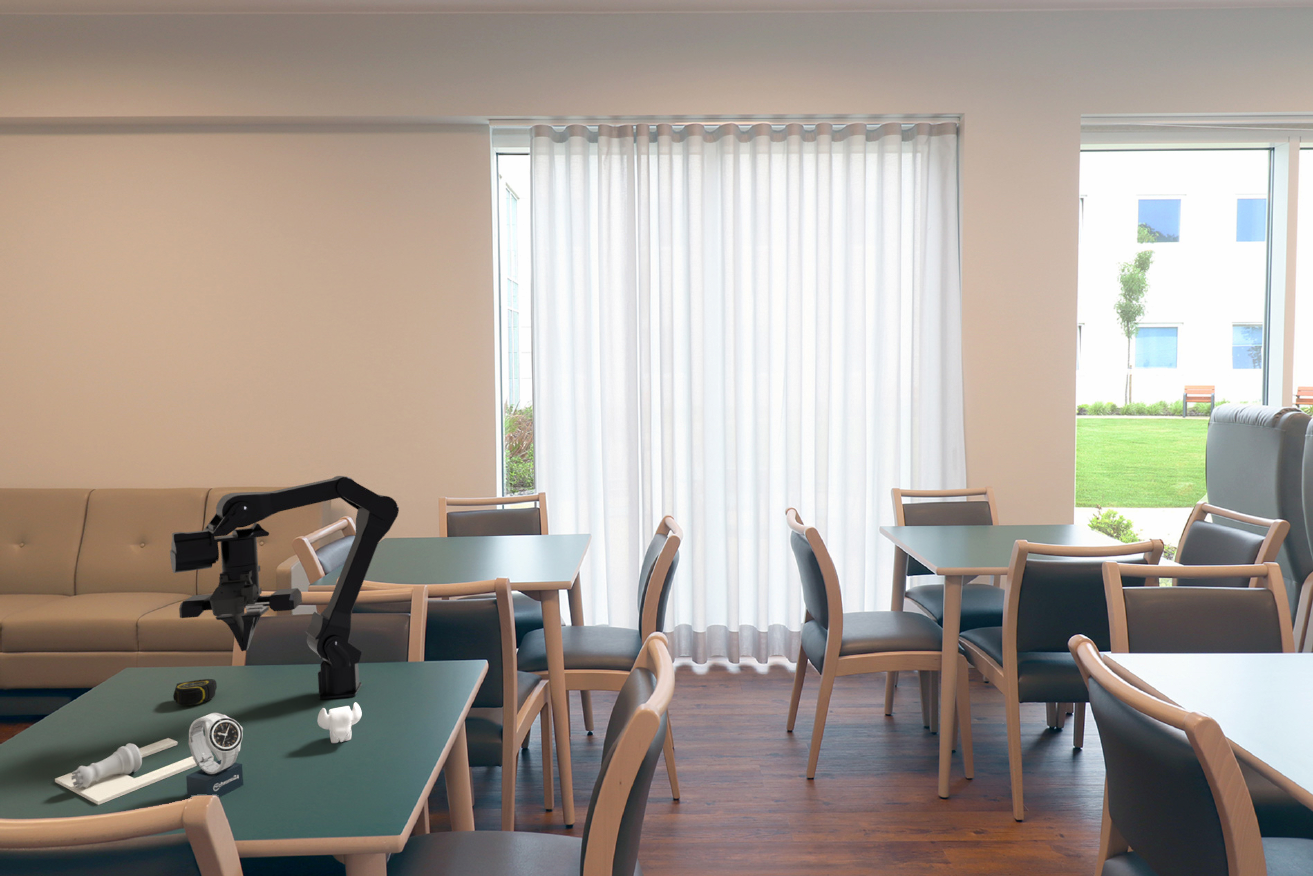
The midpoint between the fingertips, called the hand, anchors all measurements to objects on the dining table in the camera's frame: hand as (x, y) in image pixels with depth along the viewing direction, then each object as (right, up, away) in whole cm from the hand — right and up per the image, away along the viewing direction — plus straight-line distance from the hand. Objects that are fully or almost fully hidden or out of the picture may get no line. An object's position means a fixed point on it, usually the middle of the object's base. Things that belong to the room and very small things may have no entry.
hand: (244, 650), depth 139 cm
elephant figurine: (+22, -12, -11) cm, 27 cm away
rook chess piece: (-6, -11, -20) cm, 23 cm away
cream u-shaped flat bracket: (-6, -13, -20) cm, 24 cm away
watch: (+10, -13, -27) cm, 32 cm away
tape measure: (-15, -13, +9) cm, 21 cm away
